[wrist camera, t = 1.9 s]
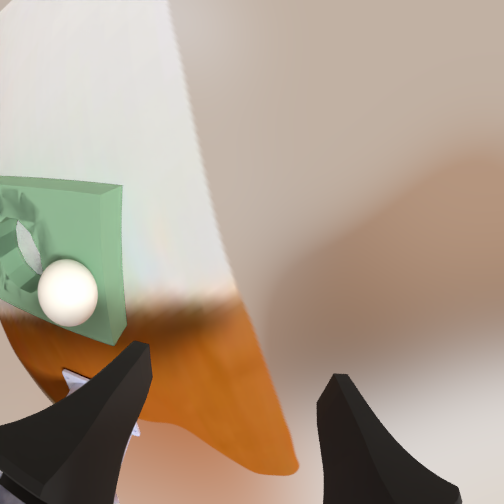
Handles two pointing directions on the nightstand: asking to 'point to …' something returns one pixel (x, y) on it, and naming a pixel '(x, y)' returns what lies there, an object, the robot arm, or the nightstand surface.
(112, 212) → the green
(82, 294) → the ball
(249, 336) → the nightstand surface
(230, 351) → the nightstand surface
